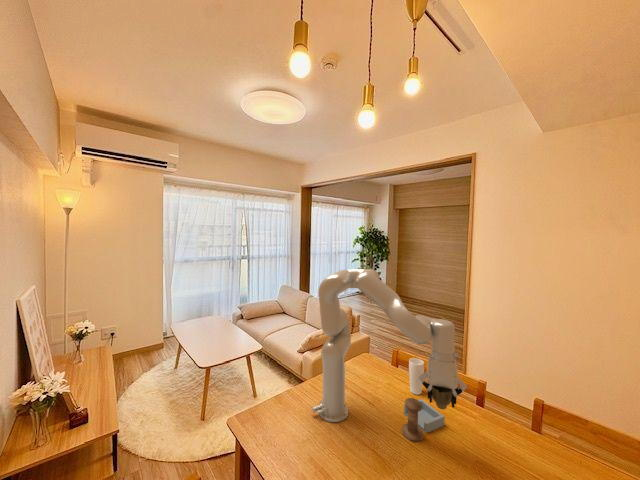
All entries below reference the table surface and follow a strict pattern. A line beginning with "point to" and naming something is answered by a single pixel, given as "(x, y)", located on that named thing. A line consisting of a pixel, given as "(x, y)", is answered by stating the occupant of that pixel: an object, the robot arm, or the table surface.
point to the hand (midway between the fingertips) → (441, 402)
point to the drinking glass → (415, 375)
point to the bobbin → (412, 421)
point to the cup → (441, 396)
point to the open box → (428, 417)
